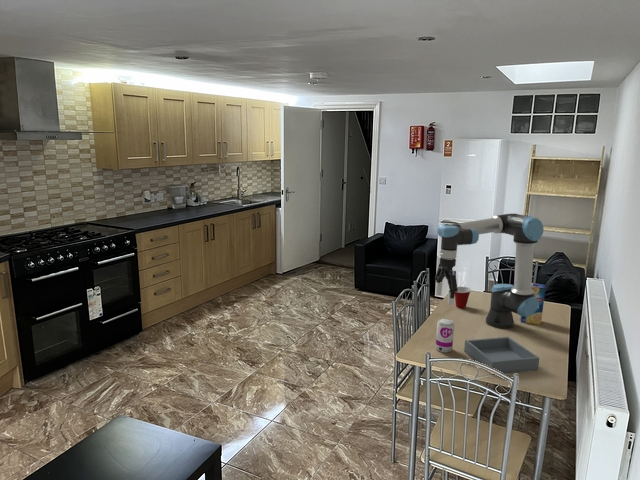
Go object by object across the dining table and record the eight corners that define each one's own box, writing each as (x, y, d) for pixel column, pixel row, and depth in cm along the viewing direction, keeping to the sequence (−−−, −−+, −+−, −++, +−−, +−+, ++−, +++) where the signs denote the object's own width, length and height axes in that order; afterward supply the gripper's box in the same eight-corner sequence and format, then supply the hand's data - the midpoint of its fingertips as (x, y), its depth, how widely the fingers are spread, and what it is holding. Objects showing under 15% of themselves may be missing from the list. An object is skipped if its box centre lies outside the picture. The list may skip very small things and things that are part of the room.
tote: (507, 347, 245) (508, 336, 243) (538, 369, 222) (539, 357, 221) (464, 351, 239) (465, 340, 238) (491, 374, 217) (492, 362, 215)
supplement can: (452, 353, 237) (455, 325, 233) (435, 352, 238) (437, 323, 235) (451, 346, 244) (454, 319, 241) (435, 345, 246) (437, 317, 243)
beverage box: (519, 318, 286) (523, 282, 281) (539, 320, 283) (544, 284, 278) (520, 322, 279) (524, 285, 275) (541, 324, 276) (545, 287, 272)
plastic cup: (448, 304, 307) (450, 286, 304) (465, 303, 308) (466, 285, 306) (455, 310, 296) (456, 291, 294) (472, 309, 298) (474, 291, 295)
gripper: (430, 251, 245) (426, 291, 249) (452, 264, 221) (448, 308, 225) (443, 251, 246) (440, 291, 250) (467, 264, 222) (463, 307, 227)
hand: (444, 299), depth 238 cm, fingers open, 13 cm apart
